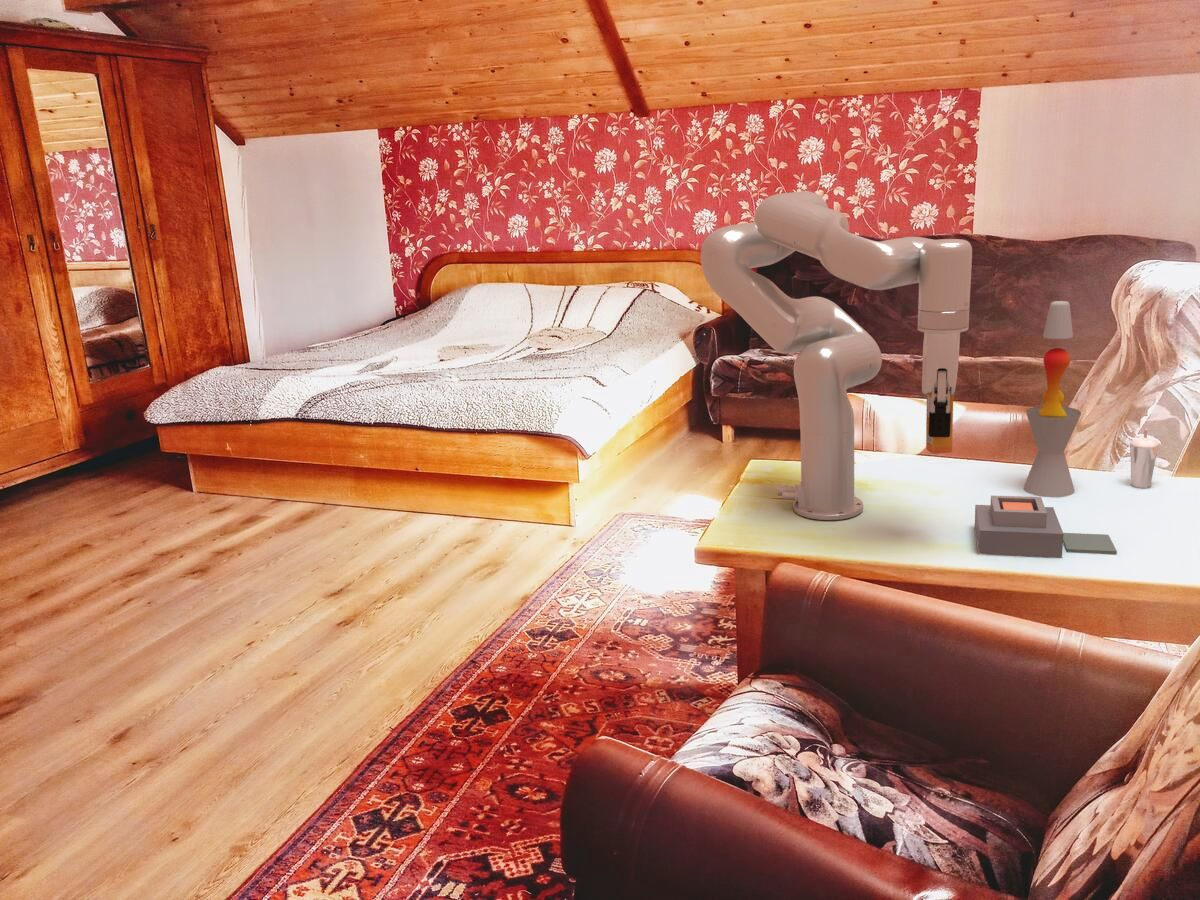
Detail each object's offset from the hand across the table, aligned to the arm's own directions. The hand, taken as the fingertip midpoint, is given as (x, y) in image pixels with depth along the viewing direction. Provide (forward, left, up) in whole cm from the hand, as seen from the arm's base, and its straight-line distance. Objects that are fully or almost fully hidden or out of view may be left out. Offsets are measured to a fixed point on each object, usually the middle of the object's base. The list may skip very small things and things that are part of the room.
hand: (938, 431), depth 151 cm
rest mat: (+23, 0, -18) cm, 29 cm away
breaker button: (+12, 0, -15) cm, 20 cm away
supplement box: (0, 0, -4) cm, 4 cm away
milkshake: (+36, +31, -19) cm, 51 cm away
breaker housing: (+12, 0, -18) cm, 22 cm away
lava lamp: (+20, +27, -19) cm, 38 cm away
